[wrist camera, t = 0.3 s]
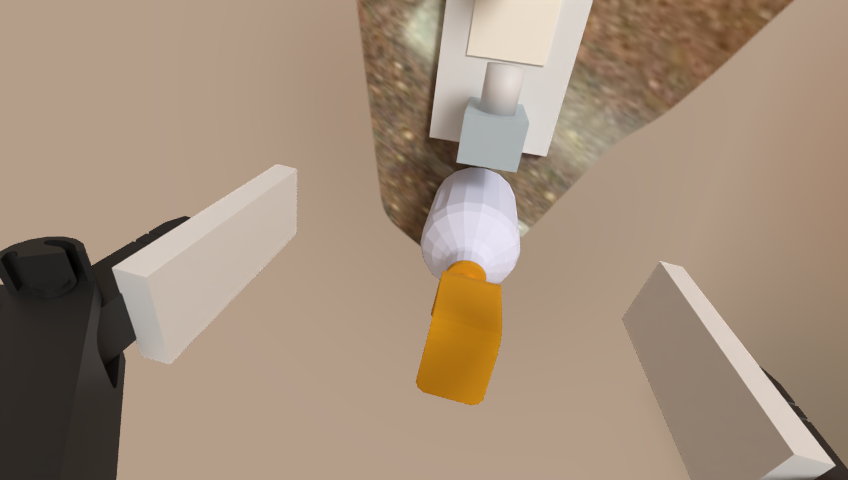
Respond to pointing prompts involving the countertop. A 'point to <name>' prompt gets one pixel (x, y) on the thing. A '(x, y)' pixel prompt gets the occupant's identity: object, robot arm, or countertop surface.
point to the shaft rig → (504, 76)
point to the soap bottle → (467, 281)
